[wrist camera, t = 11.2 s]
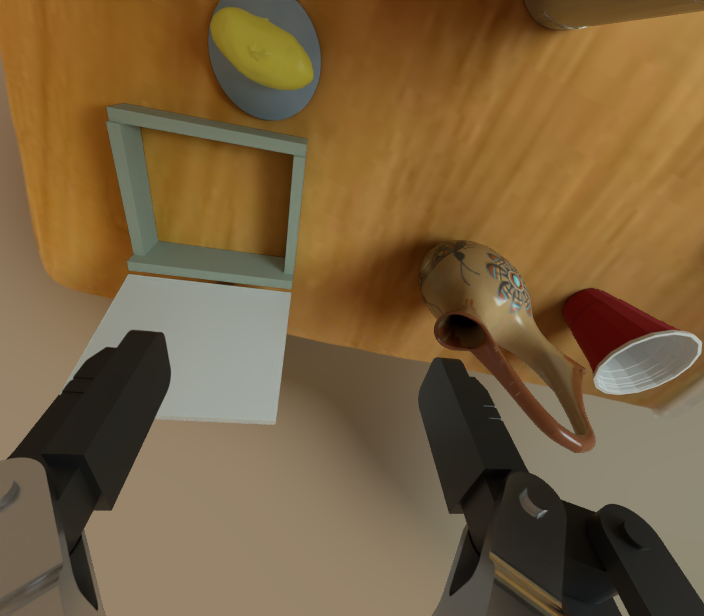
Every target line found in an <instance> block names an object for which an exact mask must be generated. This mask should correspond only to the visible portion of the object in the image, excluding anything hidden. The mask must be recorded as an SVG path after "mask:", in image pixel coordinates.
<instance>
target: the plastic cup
mask: <svg viewBox="0 0 704 616" xmlns="http://www.w3.org/2000/svg"><path fill="white" fill-rule="evenodd" d="M562 313H563V317H564V319H565V321H566V323H567V325H568V326H569V328H570V329H571V331H572V333H573V336H574V338H575V339H576V341H577V343H578V344H579V346H580V348H581V350H582V351H583V353H584V355H585V356H586V358H587V360H588V362H589V363H590V367H591V369H592V371H593V379H594V383H595V386H596V388H597V389H599V390H601V391H602V392H604V393H607V394H616V395H623V394H630V393H638V392H641V391H644V390H647V389H650V388H654V387H657V386H659V385H661V384H663V383H665V382H667V381H669V380H671V379H673V378H675V377H677V376H678V375H680V374H681V373H682V372H684V371H685V370H686V369H688V368H689V367H690V366H692V364H693V363H694V362H695V360H696V359H697V358H698V356H699V355H700V354H701V348H702V342H701V341H700V340H699V339H698V338H697V337H696V336H695V335H694V334H692V333H690V332H685V331H681V330H678V329H676V328H675V327H673V326H670V325H668V324H666V323H665V322H663V321H660V320H658V319H656V318H654V317H652V316H650V315H649V314H647V313H645V312H643V311H641V310H639V309H638V308H636V307H634V306H632V305H630V304H628V303H627V302H625V301H623V300H621V299H617V298H616V297H614V296H612V295H610V294H608V293H606V292H604V291H601V290H599V289H594V288H590V289H585V290H582V291H580V292H578V293H576V294H574V295H573V296H572V297H570V298H569V299H568V300H567V302H566V303H565V305H564V306H563V310H562Z"/></svg>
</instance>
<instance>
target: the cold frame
mask: <svg viewBox="0 0 704 616" xmlns="http://www.w3.org/2000/svg"><path fill="white" fill-rule="evenodd" d="M106 109H107V113H108V118H109V121H106V125H107V130H108V134H109V139H110V144H111V149H112V153H113V158H114V163H115V168H116V172H117V177H118V182H119V187H120V191H121V196H122V201H123V206H124V210H125V215H126V220H127V225H128V229H129V234H130V239H131V244H132V249H133V253H134V255H133V256H132V257H131V258H130V259H129V260H128V261H127V265H128V269H129V271H138V272H147V273H155V274H164V275H172V276H181V277H190V278H198V279H207V280H215V281H224V282H233V283H241V284H250V285H259V286H267V287H276V288H284V289H292V284H293V276H294V268H295V259H296V249H297V239H298V230H299V220H300V210H301V200H302V190H303V180H304V170H305V161H306V151H307V141H308V139H307V138H301V137H296V136H291V135H286V134H281V133H276V132H270V131H265V130H260V129H255V128H250V127H245V126H239V125H234V124H229V123H224V122H219V121H214V120H208V119H203V118H198V117H193V116H188V115H183V114H177V113H172V112H167V111H162V110H157V109H152V108H146V107H141V106H136V105H131V104H126V103H122V104H117V105H112V106H107V107H106ZM140 127H146V128H151V129H156V130H162V131H167V132H173V133H178V134H184V135H189V136H194V137H200V138H205V139H211V140H216V141H222V142H227V143H233V144H238V145H243V146H249V147H254V148H260V149H265V150H271V151H276V152H281V153H287V154H292V155H294V160H293V172H292V184H291V196H290V208H289V221H288V233H287V245H286V257H285V258H283V257H276V256H268V255H260V254H253V253H245V252H238V251H230V250H222V249H215V248H207V247H200V246H192V245H184V244H177V243H169V242H162V241H158V237H157V231H156V225H155V219H154V212H153V206H152V200H151V194H150V187H149V181H148V175H147V168H146V162H145V156H144V150H143V143H142V137H141V131H140Z"/></svg>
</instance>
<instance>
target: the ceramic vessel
mask: <svg viewBox="0 0 704 616" xmlns="http://www.w3.org/2000/svg"><path fill="white" fill-rule="evenodd" d="M418 280H419V287H420V291H421V294H422V297H423V299H424V302H425V303H426V305H427V307H428V309H429V310H430V311H431V313H432V314H433V315H434V317H435V318H436V319H437V321H436V323H435V326H434V334H435V337H436V339H437V341H438V342H439V343H440V344H441V345H442V346H444V347H446V348H448V349H451V350H458V351H470V352H472V353H473V354H474V355H475V356H476V357H477V359H478V360H479V361H480V362H481V363H482V364H483V365H484V366H485V367H486V368H487V369H488V370H489V371H490V372H491V373H492V374H493V375H494V376H495V377H496V379H497V380H498V381H499V382H500V383H501V384H502V386H503V387H504V388H505V389H506V390H507V392H508V393H509V394H510V395H511V396H512V397H513V399H514V400H515V401H516V402H517V403H518V405H519V406H520V407H521V408H522V410H523V411H524V412H525V413H526V414H527V416H528V417H529V418H530V419H531V420H532V421H533V423H534V424H535V425H536V426H537V427H538V428H539V429H540V430H541V431H542V432H543V433H545V434H546V435H547V436H548V437H549V438H551V439H552V440H553V441H555V442H556V443H558V444H560V445H561V446H563V447H565V448H567V449H569V450H570V451H572V452H574V453H583V452H588V451H590V450H591V449H593V448H594V446H595V442H596V440H595V435H594V432H593V430H592V427H591V425H590V423H589V421H588V418H587V415H586V412H585V409H584V404H583V397H582V383H583V376H584V374H585V373H586V372H587V369H585V368H584V367H583V366H581V365H580V364H578V363H577V362H575V361H573V360H572V359H570V358H569V357H567V356H566V355H564V354H563V353H562V352H560V351H559V350H558V349H557V348H555V347H554V346H553V345H552V344H551V343H550V342H549V341H548V340H547V339H546V338H545V337H544V336H543V334H542V333H541V332H540V330H539V329H538V327H537V325H536V323H535V321H534V319H533V314H532V307H531V300H530V295H529V292H528V289H527V286H526V284H525V282H524V280H523V278H522V277H521V275H520V274H519V272H518V271H517V270H516V269H515V267H514V266H513V265H512V264H511V263H510V262H509V261H508V260H507V259H505V258H504V257H503V256H502V255H500V254H499V253H497V252H496V251H494V250H492V249H491V248H489V247H487V246H484V245H482V244H479V243H476V242H471V241H465V240H452V241H447V242H443V243H441V244H438V245H436V246H435V247H433V248H432V249H431V250H430V251H428V253H427V254H426V255H425V256H424V258H423V260H422V262H421V264H420V268H419V275H418ZM498 346H500V347H502V348H504V349H506V350H508V351H510V352H511V353H513V354H514V355H516V356H517V357H519V358H520V359H521V360H522V361H524V362H525V363H526V364H527V365H528V366H530V367H531V368H532V369H533V370H534V371H535V372H536V373H537V374H538V375H539V376H540V377H541V378H542V379H543V381H544V382H545V383H546V384H547V385H548V386H549V387H550V388H551V389H552V390H553V391H554V392H555V394H556V396H557V397H558V399H559V401H560V403H561V404H562V407H563V408H564V410H565V412H566V414H567V416H568V418H569V420H570V422H571V424H572V427H573V429H574V432H575V434H573V433H571V432H570V431H568V430H567V429H565V428H564V427H563V426H561V425H560V424H559V423H558V422H557V421H556V420H554V418H553V417H552V416H551V415H550V414H549V413H548V412H547V411H546V410H545V409H544V408H543V407H542V406H541V405H540V403H539V402H538V401H537V400H536V399H535V398H534V396H533V395H532V394H531V393H530V391H529V390H528V389H527V388H526V387H525V385H524V384H523V382H522V381H521V380H520V378H519V377H518V375H517V374H516V373H515V371H514V370H513V368H512V367H511V365H510V364H509V362H508V361H507V359H506V358H505V356H504V355H503V353H502V351H501V350H500V348H499V347H498Z"/></svg>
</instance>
